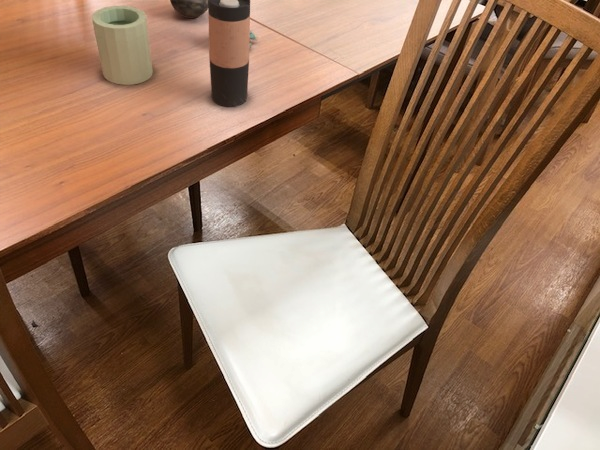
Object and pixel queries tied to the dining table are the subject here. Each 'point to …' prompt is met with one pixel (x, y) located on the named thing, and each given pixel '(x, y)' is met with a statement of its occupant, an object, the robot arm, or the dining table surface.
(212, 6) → the travel mug
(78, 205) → the dining table surface
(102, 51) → the jar
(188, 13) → the decorative stone
